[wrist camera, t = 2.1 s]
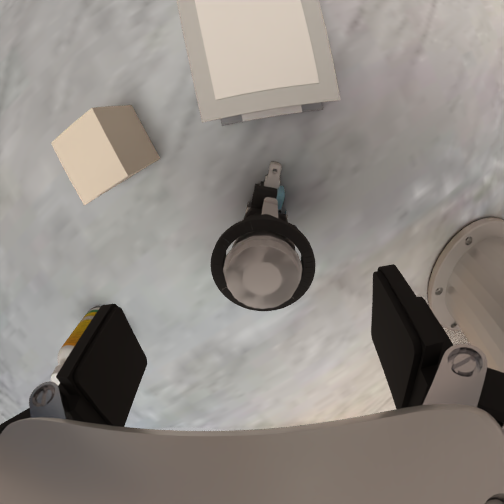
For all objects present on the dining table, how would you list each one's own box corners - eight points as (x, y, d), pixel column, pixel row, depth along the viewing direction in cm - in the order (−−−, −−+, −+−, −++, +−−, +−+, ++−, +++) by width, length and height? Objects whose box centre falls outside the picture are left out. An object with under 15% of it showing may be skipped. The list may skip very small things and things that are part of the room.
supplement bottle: (139, 335, 31) (106, 404, 22) (110, 349, 32) (76, 411, 24) (105, 297, 29) (60, 362, 20) (78, 315, 30) (36, 374, 22)
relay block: (131, 105, 21) (91, 107, 15) (160, 158, 23) (128, 175, 17) (94, 131, 22) (51, 143, 16) (122, 182, 24) (84, 205, 18)
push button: (241, 154, 22) (220, 187, 13) (312, 169, 22) (339, 213, 13) (226, 235, 25) (201, 311, 16) (291, 249, 25) (300, 329, 16)
